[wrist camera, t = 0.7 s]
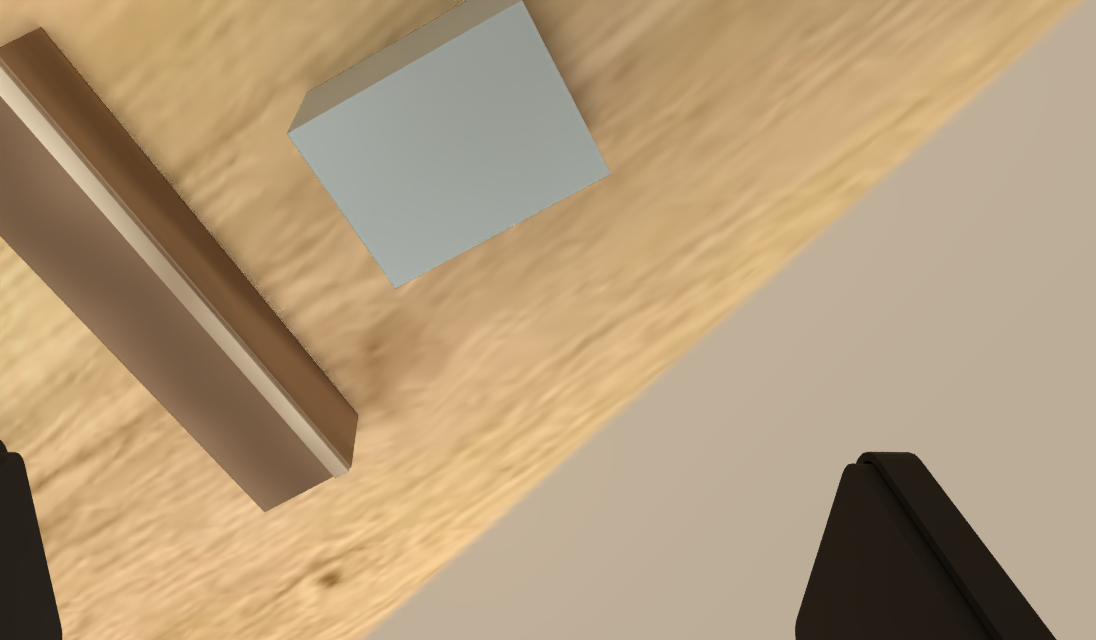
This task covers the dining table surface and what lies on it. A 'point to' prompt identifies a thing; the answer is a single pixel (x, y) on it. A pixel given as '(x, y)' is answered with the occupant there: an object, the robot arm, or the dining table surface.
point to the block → (447, 137)
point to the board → (158, 283)
